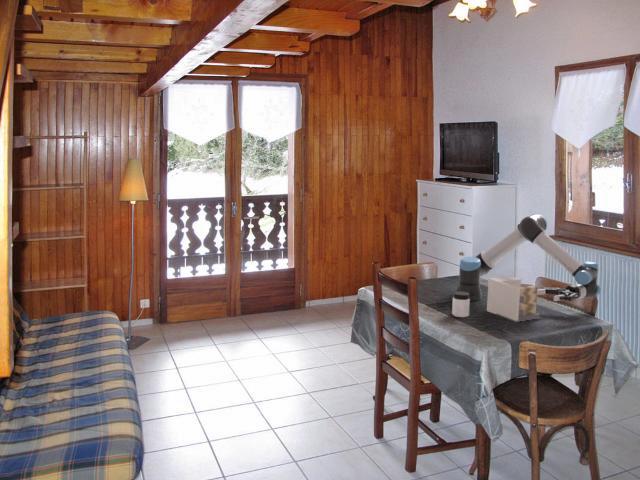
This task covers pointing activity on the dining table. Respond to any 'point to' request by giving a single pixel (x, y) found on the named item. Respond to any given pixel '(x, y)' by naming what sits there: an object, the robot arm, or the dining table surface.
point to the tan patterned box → (528, 299)
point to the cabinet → (506, 299)
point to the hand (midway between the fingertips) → (544, 295)
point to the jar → (460, 304)
